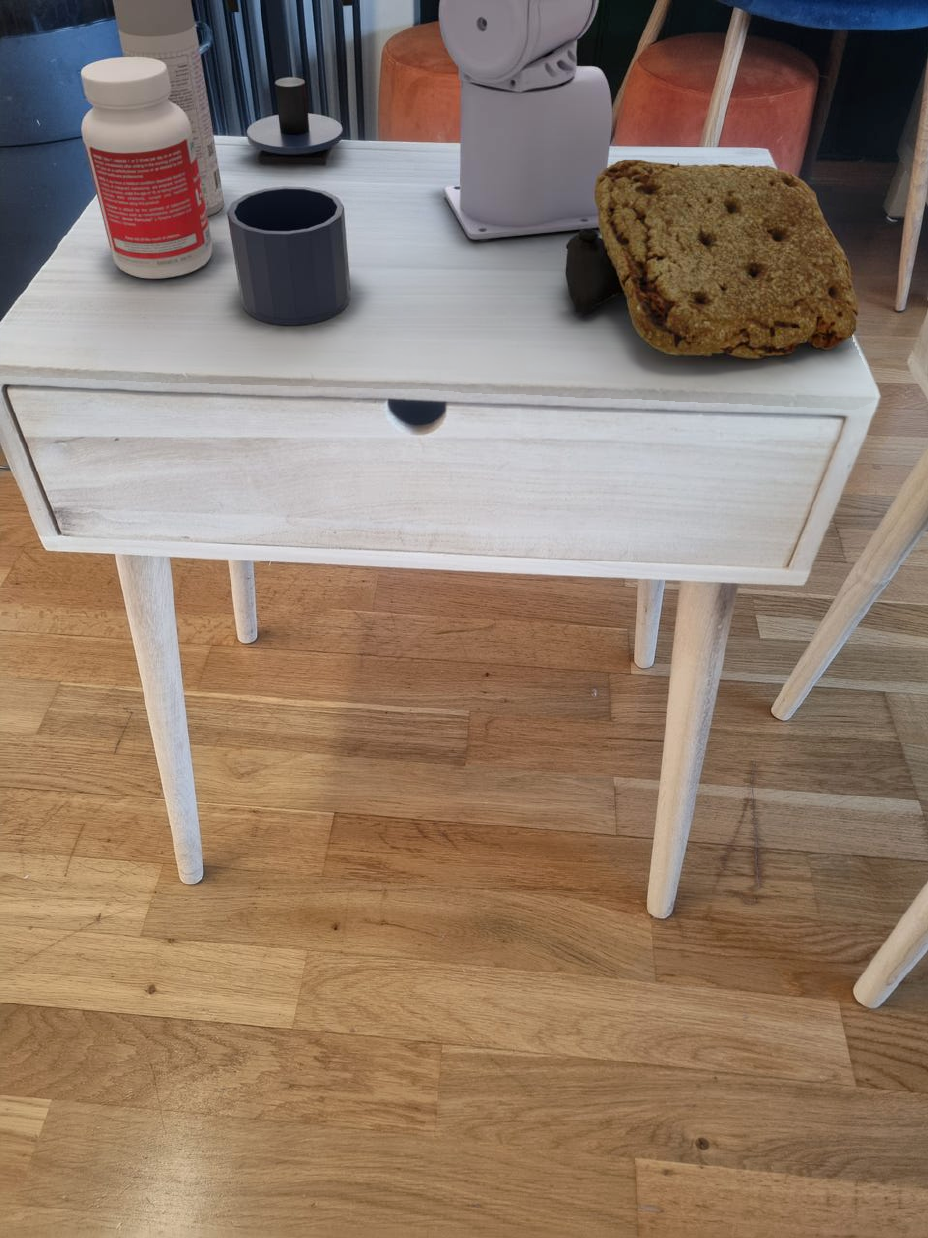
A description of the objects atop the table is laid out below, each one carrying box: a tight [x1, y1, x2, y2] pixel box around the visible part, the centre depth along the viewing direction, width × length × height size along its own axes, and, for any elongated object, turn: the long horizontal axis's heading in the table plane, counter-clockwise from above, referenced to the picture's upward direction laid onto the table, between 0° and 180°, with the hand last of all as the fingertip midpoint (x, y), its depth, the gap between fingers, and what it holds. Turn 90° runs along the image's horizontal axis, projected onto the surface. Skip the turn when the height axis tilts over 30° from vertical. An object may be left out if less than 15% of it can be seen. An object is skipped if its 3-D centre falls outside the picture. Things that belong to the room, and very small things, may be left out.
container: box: [112, 0, 225, 217], centre depth 63 cm, size 5×5×15 cm
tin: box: [226, 185, 351, 326], centre depth 57 cm, size 6×6×5 cm
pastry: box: [594, 159, 859, 359], centre depth 56 cm, size 17×17×3 cm
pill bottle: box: [80, 56, 213, 280], centre depth 59 cm, size 6×6×11 cm
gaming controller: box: [564, 228, 625, 316], centre depth 59 cm, size 9×5×5 cm
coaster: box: [257, 146, 333, 166], centre depth 75 cm, size 5×5×1 cm
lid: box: [246, 76, 344, 155], centre depth 74 cm, size 7×7×4 cm
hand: (289, 5), depth 67 cm, fingers open, 7 cm apart
